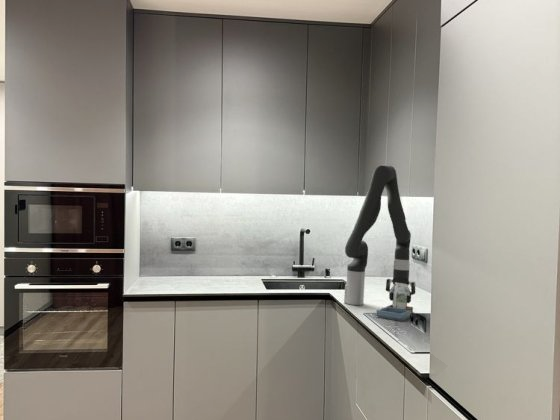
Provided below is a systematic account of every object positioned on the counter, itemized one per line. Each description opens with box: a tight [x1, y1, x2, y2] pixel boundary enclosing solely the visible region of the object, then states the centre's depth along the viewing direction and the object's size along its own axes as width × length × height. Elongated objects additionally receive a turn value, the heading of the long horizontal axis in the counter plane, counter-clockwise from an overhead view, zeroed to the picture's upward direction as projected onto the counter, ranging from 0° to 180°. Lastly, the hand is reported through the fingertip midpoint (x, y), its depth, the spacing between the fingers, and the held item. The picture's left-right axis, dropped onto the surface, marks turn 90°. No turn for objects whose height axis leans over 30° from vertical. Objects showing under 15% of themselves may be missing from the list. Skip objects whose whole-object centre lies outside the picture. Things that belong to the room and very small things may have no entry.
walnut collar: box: [386, 304, 414, 314], centre depth 226 cm, size 10×10×2 cm
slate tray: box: [375, 306, 412, 322], centre depth 214 cm, size 12×12×3 cm
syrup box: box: [391, 282, 409, 309], centre depth 226 cm, size 6×6×14 cm
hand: (399, 301), depth 226 cm, fingers closed on syrup box, 8 cm apart
